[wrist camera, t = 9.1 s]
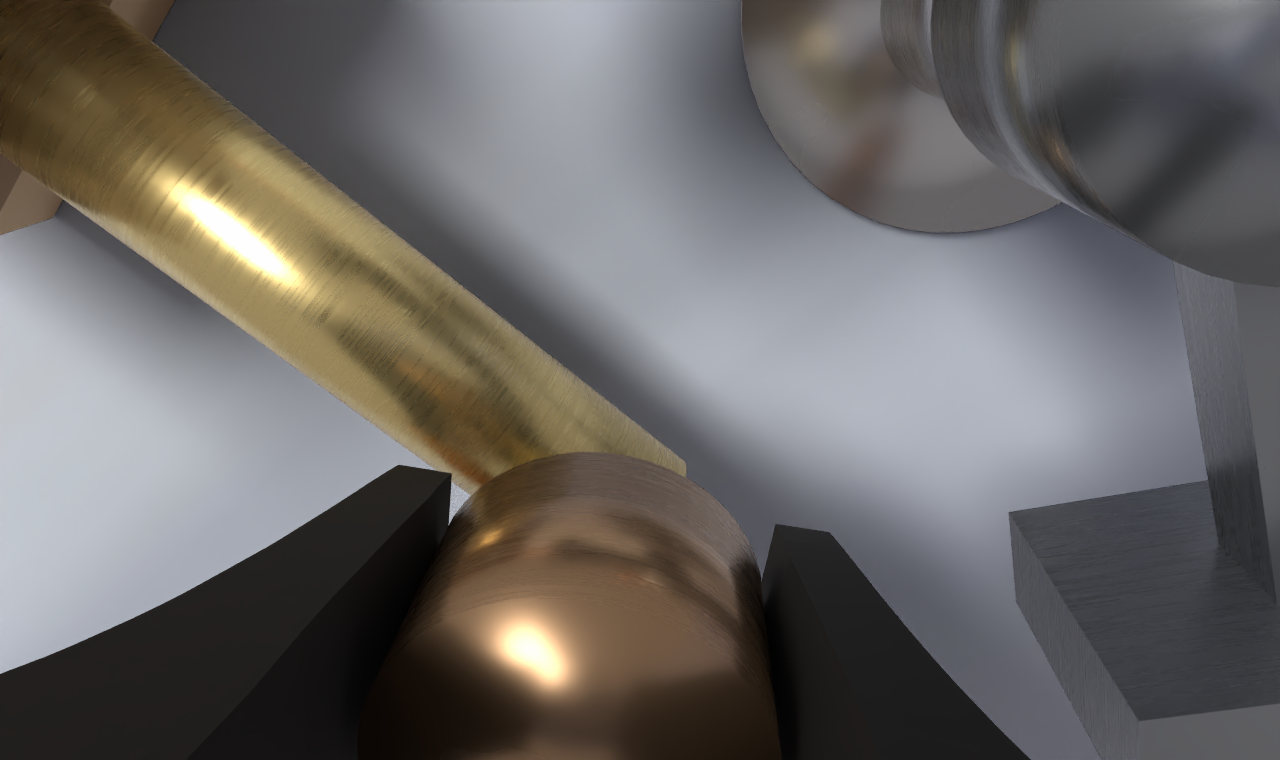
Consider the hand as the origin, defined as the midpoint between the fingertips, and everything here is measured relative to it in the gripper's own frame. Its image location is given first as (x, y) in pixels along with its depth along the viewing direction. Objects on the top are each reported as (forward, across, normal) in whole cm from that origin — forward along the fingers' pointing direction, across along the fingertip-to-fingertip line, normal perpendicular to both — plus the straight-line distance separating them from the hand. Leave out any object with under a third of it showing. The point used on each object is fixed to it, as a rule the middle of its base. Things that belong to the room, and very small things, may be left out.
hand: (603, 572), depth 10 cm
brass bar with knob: (+3, +4, -2) cm, 5 cm away
